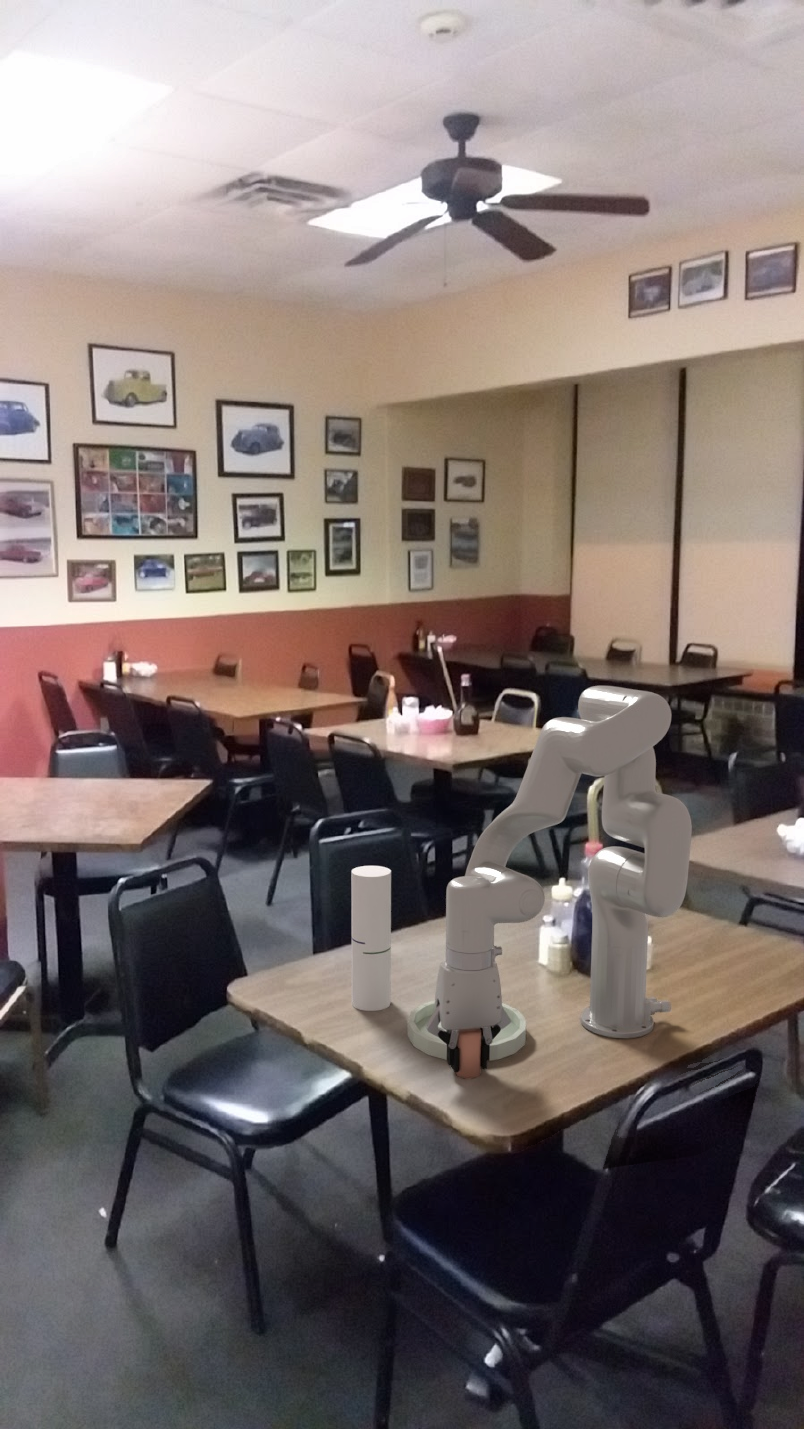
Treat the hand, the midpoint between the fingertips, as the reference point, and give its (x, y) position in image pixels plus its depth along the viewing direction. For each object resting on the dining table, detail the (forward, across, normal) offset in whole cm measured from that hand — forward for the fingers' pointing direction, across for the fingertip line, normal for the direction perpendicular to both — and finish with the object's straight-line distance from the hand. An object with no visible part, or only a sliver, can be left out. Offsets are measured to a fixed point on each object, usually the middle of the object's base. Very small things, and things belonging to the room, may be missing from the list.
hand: (467, 1065), depth 169 cm
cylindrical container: (+1, +9, -30) cm, 31 cm away
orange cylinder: (+1, 0, 0) cm, 1 cm away
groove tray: (+1, -4, -13) cm, 14 cm away
